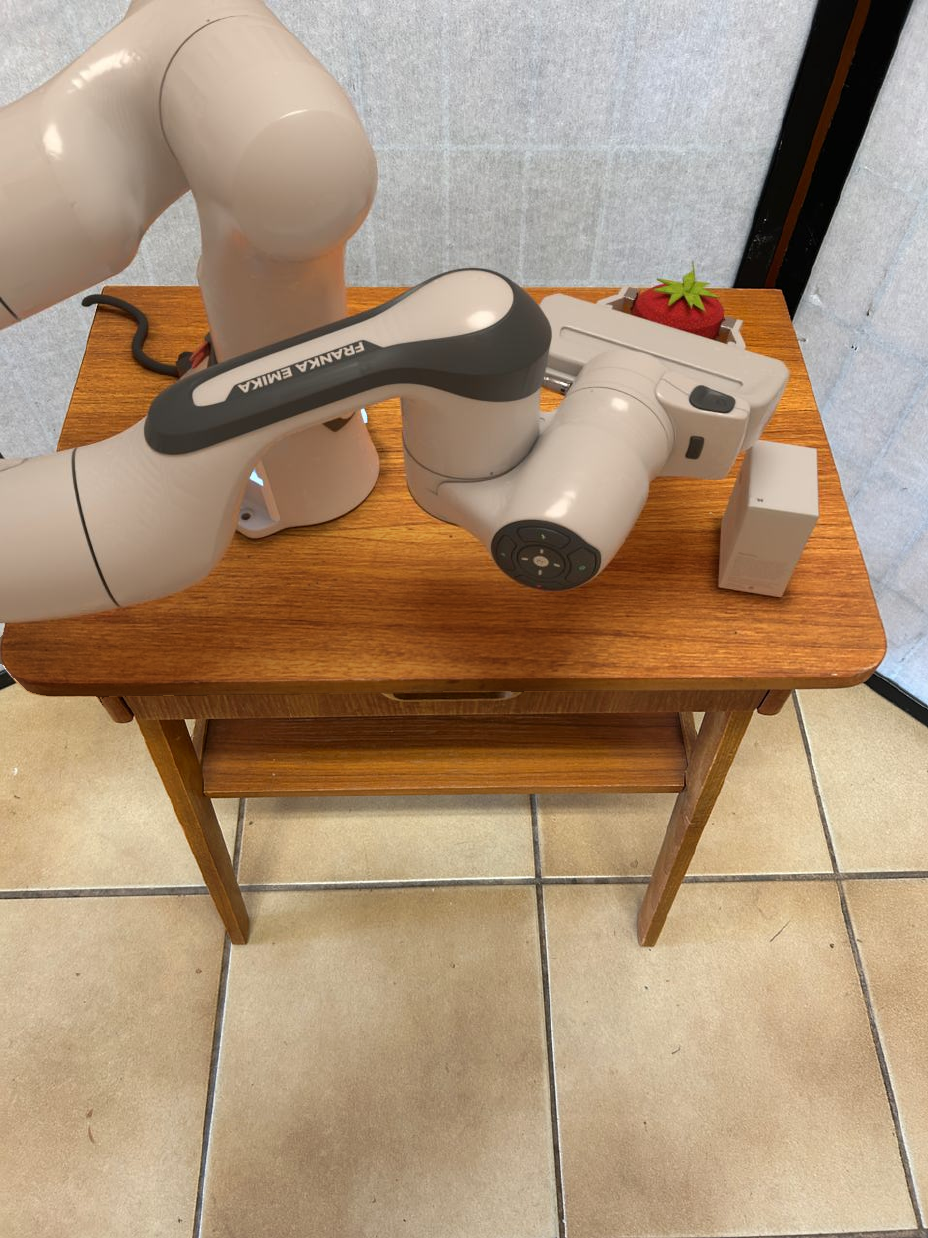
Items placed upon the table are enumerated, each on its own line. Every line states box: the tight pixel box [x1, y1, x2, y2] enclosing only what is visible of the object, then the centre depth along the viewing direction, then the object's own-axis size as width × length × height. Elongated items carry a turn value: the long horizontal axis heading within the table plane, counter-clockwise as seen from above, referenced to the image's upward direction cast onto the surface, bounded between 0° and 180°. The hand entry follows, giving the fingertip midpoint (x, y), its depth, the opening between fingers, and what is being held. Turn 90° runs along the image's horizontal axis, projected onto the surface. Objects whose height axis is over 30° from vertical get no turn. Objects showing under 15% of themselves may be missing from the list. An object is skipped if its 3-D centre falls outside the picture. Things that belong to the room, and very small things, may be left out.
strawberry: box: [631, 260, 725, 340], centre depth 78 cm, size 6×8×10 cm
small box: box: [717, 439, 820, 598], centre depth 80 cm, size 8×6×10 cm
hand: (681, 309), depth 78 cm, fingers closed on strawberry, 7 cm apart
